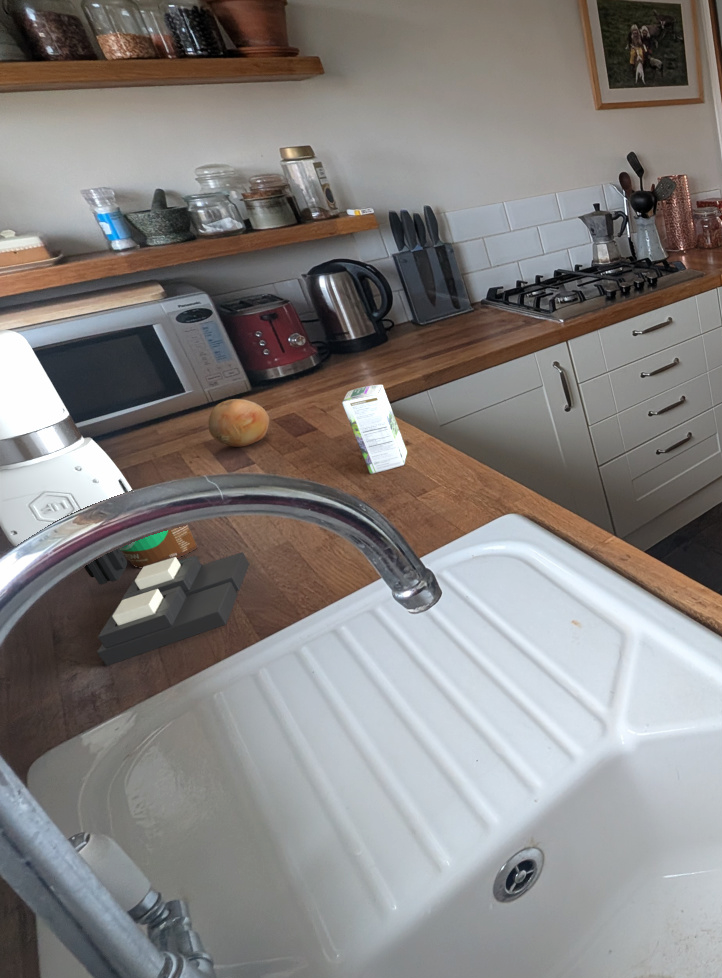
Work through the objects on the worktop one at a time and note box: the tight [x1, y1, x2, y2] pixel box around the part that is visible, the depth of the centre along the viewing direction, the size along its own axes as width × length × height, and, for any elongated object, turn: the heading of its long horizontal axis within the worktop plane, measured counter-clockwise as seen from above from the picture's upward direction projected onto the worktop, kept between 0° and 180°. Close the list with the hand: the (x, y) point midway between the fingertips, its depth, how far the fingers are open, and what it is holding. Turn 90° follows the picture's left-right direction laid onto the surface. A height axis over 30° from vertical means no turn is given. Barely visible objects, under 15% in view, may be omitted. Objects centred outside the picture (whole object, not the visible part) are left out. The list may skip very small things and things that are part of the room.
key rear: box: [134, 557, 182, 590], centre depth 91 cm, size 4×4×2 cm
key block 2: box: [96, 582, 239, 667], centre depth 86 cm, size 12×7×4 cm, turn 118°
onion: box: [208, 398, 270, 448], centre depth 139 cm, size 10×10×10 cm
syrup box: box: [341, 384, 408, 475], centre depth 121 cm, size 6×6×14 cm
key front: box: [112, 589, 164, 626], centre depth 84 cm, size 4×4×2 cm
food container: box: [120, 524, 199, 567], centre depth 100 cm, size 12×6×10 cm, turn 80°
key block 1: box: [121, 552, 250, 601], centre depth 92 cm, size 12×7×4 cm, turn 118°
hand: (113, 576), depth 82 cm, fingers closed
